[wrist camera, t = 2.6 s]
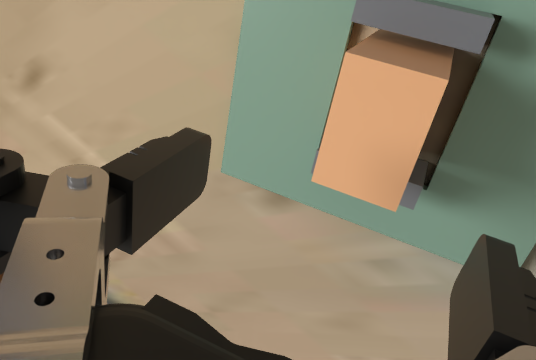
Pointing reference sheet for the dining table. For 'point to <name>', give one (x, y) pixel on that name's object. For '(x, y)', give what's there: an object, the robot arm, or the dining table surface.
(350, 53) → the block
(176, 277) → the dining table surface
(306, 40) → the board
